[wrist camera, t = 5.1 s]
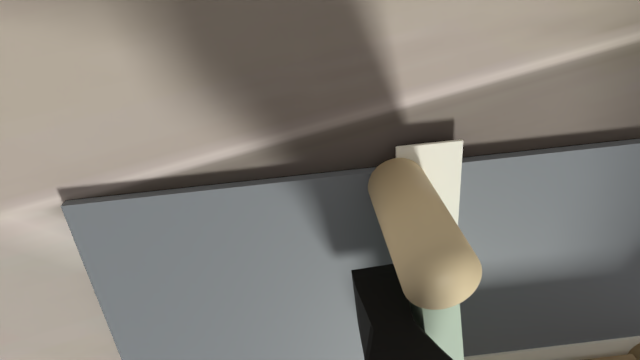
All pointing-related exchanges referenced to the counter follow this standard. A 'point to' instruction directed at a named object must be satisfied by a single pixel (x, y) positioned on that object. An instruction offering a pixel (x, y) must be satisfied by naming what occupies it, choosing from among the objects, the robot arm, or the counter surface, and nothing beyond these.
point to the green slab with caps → (425, 250)
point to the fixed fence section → (636, 358)
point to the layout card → (371, 258)
